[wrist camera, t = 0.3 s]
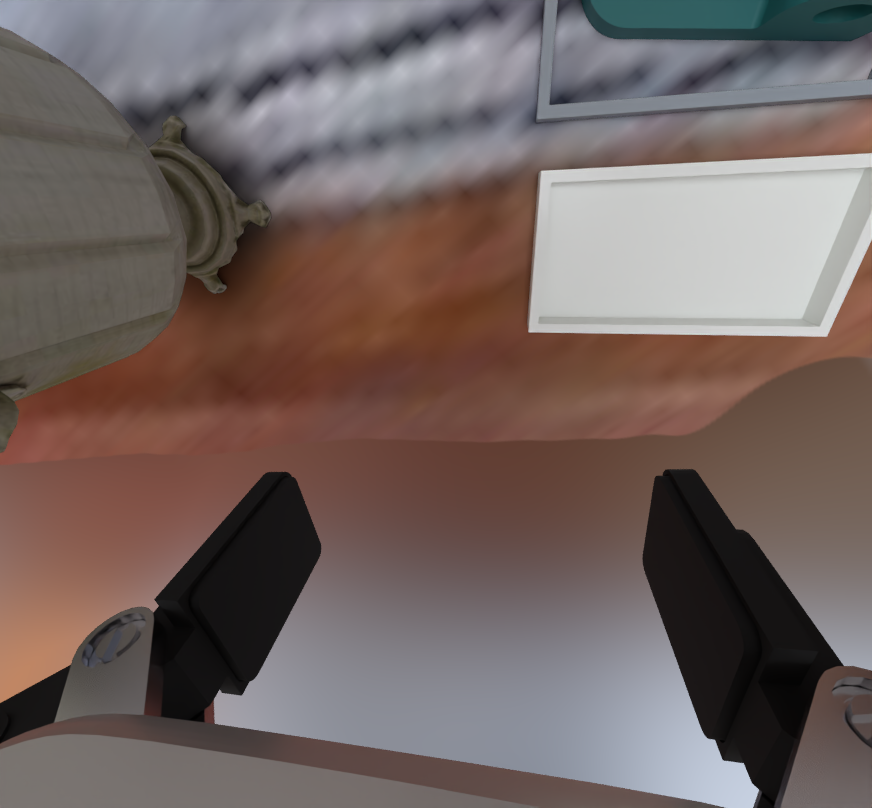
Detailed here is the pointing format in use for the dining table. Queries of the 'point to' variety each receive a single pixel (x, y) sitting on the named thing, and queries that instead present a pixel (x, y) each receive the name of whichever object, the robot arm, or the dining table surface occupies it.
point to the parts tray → (700, 246)
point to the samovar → (94, 227)
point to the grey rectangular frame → (678, 102)
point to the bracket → (731, 19)
